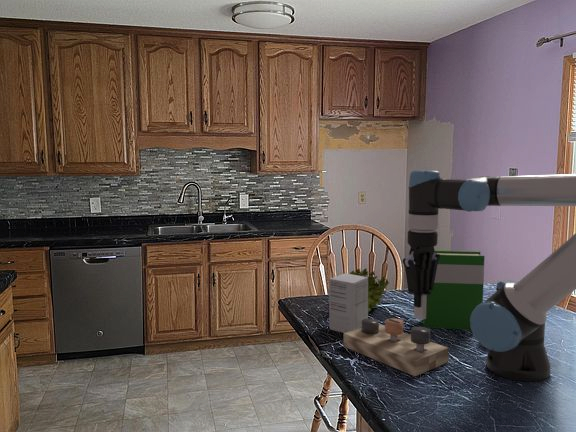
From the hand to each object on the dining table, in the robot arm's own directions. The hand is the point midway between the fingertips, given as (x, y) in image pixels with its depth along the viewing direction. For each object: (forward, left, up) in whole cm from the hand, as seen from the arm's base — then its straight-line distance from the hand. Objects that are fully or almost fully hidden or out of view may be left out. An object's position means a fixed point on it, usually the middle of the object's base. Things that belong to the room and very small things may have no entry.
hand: (420, 317), depth 135 cm
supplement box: (+32, -5, -13) cm, 35 cm away
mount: (+9, 0, -13) cm, 15 cm away
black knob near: (0, 0, -10) cm, 10 cm away
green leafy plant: (+43, -25, -13) cm, 51 cm away
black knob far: (+18, 0, -13) cm, 22 cm away
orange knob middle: (+9, 0, -10) cm, 13 cm away
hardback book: (+13, -33, -13) cm, 38 cm away
